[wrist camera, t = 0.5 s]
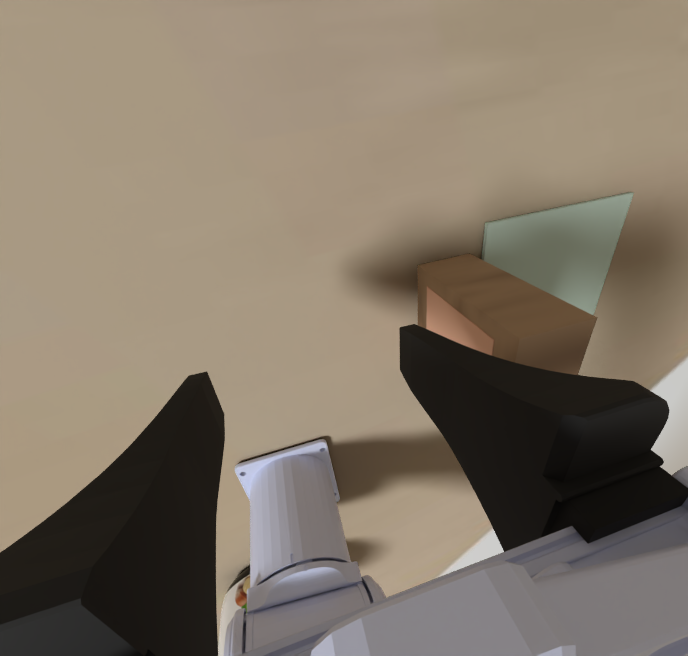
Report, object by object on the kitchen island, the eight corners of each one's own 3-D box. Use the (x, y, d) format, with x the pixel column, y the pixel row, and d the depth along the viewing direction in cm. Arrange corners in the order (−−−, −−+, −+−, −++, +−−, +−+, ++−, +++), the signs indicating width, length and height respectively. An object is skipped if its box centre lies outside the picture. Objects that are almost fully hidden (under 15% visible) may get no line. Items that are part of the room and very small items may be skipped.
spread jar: (305, 543, 36) (326, 690, 26) (321, 584, 42) (342, 718, 32) (196, 579, 34) (175, 753, 25) (228, 618, 40) (222, 770, 30)
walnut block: (461, 344, 27) (557, 434, 19) (417, 356, 26) (495, 455, 18) (469, 253, 23) (597, 317, 14) (416, 265, 22) (518, 339, 14)
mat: (585, 328, 30) (588, 329, 30) (470, 360, 28) (472, 362, 28) (629, 192, 24) (634, 192, 23) (485, 222, 22) (487, 223, 22)
